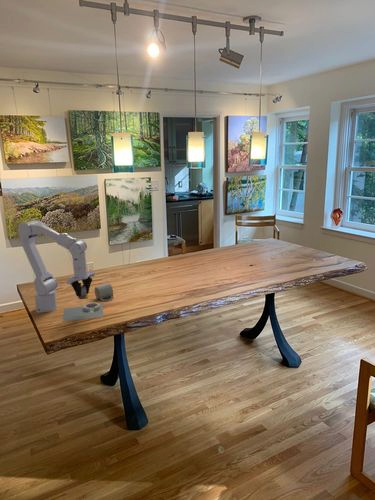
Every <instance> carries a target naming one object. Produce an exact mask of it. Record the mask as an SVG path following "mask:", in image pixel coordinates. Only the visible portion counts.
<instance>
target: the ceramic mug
mask: <svg viewBox="0 0 375 500" xmlns="http://www.w3.org/2000/svg"><path fill="white" fill-rule="evenodd" d="M94 296H95V298H96V300H101V302H109V301H112V299H113V297H114V290H113V286H112V284H111V283H110V282H108V283H103V284H100V285H96V286H95V287H94Z"/></svg>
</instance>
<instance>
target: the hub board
mask: <svg viewBox="0 0 375 500" xmlns="http://www.w3.org/2000/svg"><path fill="white" fill-rule="evenodd" d="M103 310H104V309H103V304H102V303H99V302H87V303H85V304H84V305H82V306H76V307H75V306H74V307H66V308H64V309H63V316H62V323H65V322H73V321H82V320H88V319H89V320H90V319H95V318H96V319H97V318H104V311H103Z"/></svg>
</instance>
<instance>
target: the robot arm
mask: <svg viewBox="0 0 375 500" xmlns="http://www.w3.org/2000/svg"><path fill="white" fill-rule="evenodd" d="M17 233H18V235H19V239H20V240H19V241H20V244H21V246H22V248H23V250H24V251H23V252H24V253H25V255H26V258H27V259H28V262H29V264H30V266H31V270H32V271H33V272H34V275H35V278H34V281H33V284H34V288H35V289H34V290H35V292H36V294H35V295H34V302H35V304H34V305H35V311H36V314H37V313H49V312H53V311H56V310H57V309H58V304H57V296H56V289H57V288H58V281H57V279H56V278H55V277H54V275H53V273H51V272H49V271H48V270H47V268H46V266H45V263H44V261H43V259H42V256H41V254H40V252H39V250H38V248H37V246H36V243H35V241H36V238H37V237H38V235H43V236H46V237H47V238H50V239H52V240H55V241H56V244H57V245H58V246H60V247H62V248H64V249H67V250H68V251H69V253H70V255H71V258H72V266H73V276H71V277H70V278H67V279H66V281H65V282H66V285H68V286H69V285H71V287H72V289H73V290H74V293H75V295H76V297H77V298H78V297H81V291H80V288H81V285H85V286H86V290H87V295H89V293H90V286H91V284H92V282H93V278H94V277H95V276H96V274H95V272H94V271H90V272H88V271H87V260H86V257H87V256H86V251H87V249H88V246H87V243H86V241H84V240H83V239H77V238H75V237H72V236H71V235H69V233H67V232H61V233H59V232H57V231H56V230H54V229H52V228H51V227H49V226H48V225H46V224H45V223H44V222H42V221H40V220H39V219H33V220H30V221H27V222H21V223H20V224H19V226H18V228H17ZM80 281H81V282H80Z"/></svg>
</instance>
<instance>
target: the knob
mask: <svg viewBox="0 0 375 500" xmlns="http://www.w3.org/2000/svg"><path fill="white" fill-rule="evenodd" d="M80 291H81V297H78V296H77V298H78V300H88V299H89V294H87V290H86V286H85V285H83V284H81V288H80Z"/></svg>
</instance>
